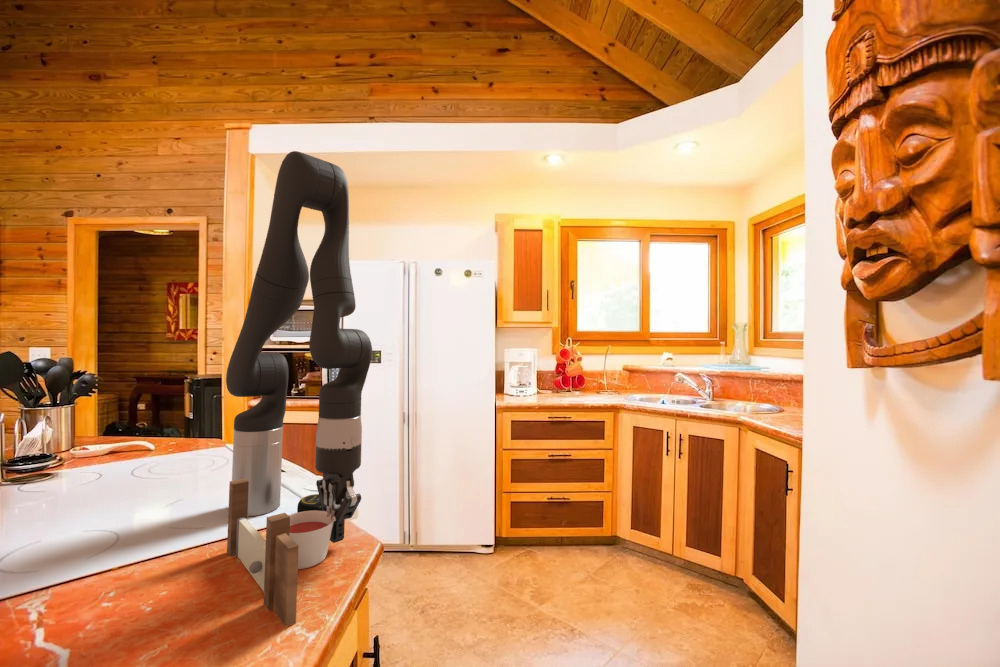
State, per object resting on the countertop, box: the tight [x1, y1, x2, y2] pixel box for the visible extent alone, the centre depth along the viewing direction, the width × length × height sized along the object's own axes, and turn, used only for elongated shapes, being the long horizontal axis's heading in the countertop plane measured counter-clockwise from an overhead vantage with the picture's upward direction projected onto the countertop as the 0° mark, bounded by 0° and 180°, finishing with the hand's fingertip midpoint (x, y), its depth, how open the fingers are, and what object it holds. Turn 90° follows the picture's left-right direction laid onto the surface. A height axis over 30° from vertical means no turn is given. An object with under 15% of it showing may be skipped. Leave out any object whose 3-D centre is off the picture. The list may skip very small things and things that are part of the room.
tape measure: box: [296, 493, 323, 513], centre depth 89 cm, size 7×7×4 cm
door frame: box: [226, 479, 299, 627], centre depth 65 cm, size 26×2×12 cm, turn 45°
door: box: [235, 518, 266, 592], centre depth 67 cm, size 15×3×6 cm, turn 45°
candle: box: [287, 510, 334, 570], centre depth 72 cm, size 9×9×6 cm
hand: (336, 540), depth 76 cm, fingers closed
